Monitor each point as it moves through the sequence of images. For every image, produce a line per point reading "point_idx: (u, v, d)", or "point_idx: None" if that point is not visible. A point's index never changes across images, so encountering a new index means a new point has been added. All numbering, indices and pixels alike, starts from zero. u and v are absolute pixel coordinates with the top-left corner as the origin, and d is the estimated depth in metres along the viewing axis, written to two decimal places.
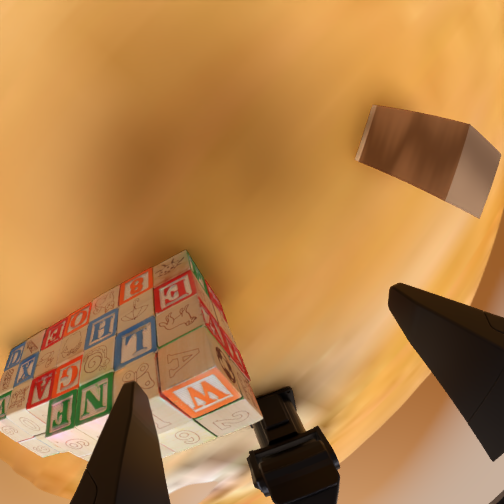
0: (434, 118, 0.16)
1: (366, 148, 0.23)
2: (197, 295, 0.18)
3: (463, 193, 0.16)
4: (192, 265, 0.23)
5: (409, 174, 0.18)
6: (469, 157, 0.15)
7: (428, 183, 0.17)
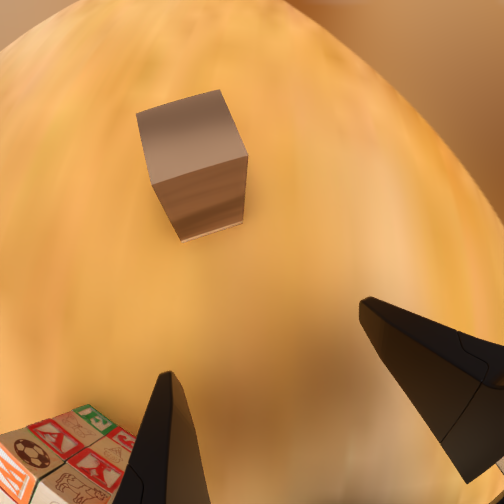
0: None
1: None
2: (50, 418, 0.14)
3: (179, 158, 0.15)
4: (90, 413, 0.19)
5: None
6: (157, 131, 0.15)
7: None
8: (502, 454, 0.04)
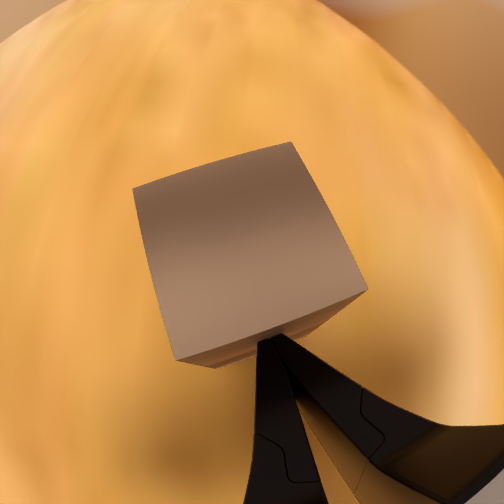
0: None
1: None
2: None
3: (230, 298, 0.07)
4: None
5: None
6: (177, 231, 0.08)
7: None
8: None
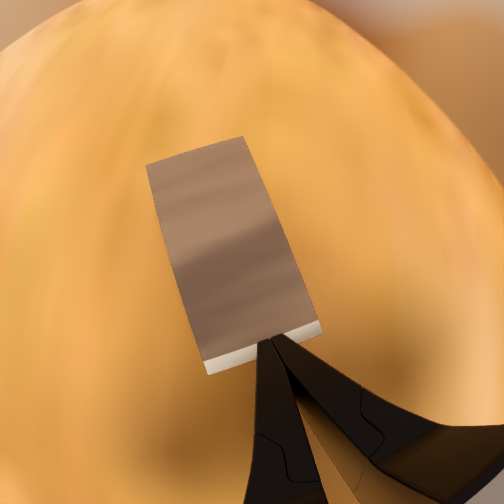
0: None
1: None
2: None
3: None
4: None
5: None
6: None
7: None
8: None
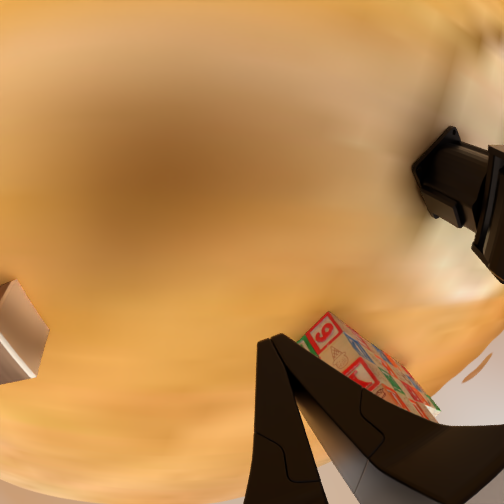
0: None
1: None
2: None
3: None
4: None
5: None
6: None
7: None
8: None
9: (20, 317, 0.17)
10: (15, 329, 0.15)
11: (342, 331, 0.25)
